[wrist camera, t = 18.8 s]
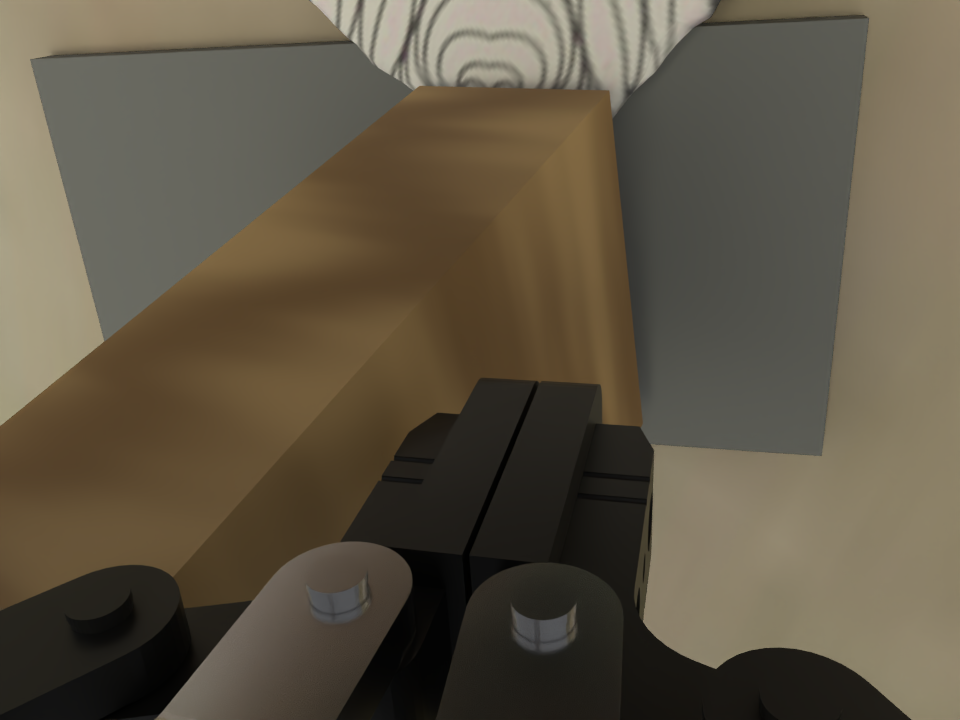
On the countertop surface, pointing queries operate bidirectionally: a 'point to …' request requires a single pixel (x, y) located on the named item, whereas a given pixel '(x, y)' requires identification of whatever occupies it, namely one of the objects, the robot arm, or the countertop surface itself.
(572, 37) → the cookie jar
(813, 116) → the rubber mat
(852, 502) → the countertop surface
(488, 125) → the tall wooden block
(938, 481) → the countertop surface
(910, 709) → the countertop surface
